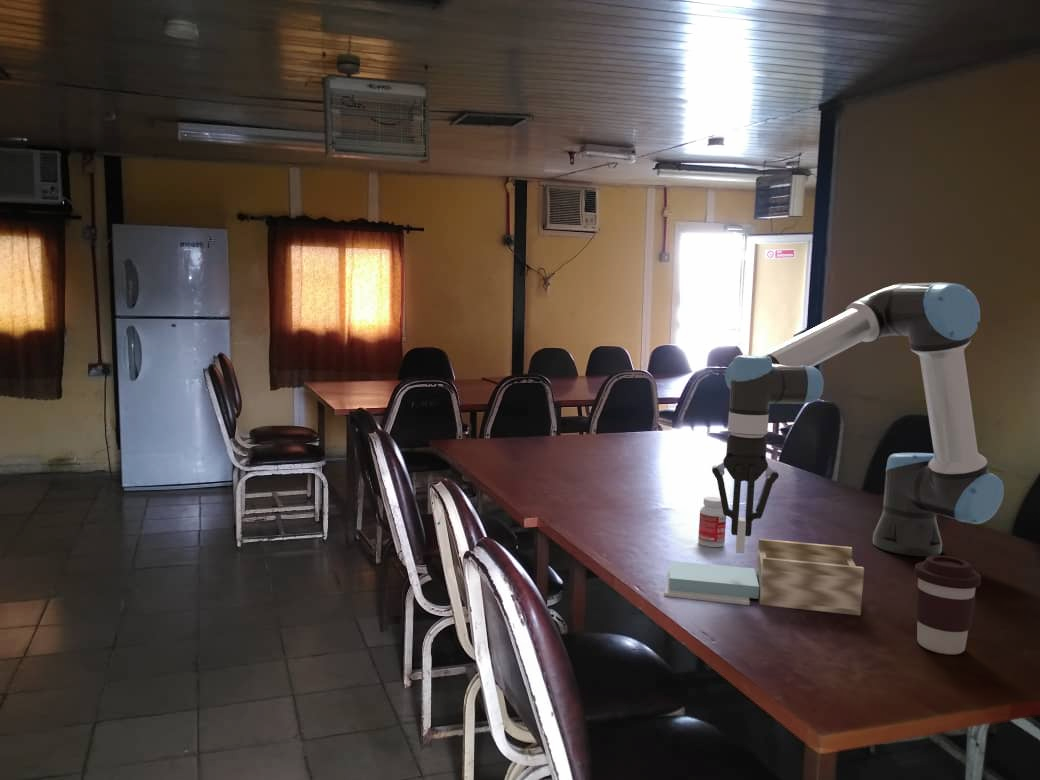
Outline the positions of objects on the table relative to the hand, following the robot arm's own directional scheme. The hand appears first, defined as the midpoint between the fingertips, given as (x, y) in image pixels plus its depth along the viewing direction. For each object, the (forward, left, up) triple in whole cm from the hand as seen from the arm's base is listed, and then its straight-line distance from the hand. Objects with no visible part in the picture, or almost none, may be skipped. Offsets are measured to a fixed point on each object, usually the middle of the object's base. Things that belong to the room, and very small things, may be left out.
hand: (739, 551), depth 164 cm
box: (-13, 0, -8) cm, 15 cm away
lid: (+5, 0, -7) cm, 9 cm away
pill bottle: (+5, -31, -8) cm, 32 cm away
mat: (+6, 0, -8) cm, 10 cm away
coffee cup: (-33, +18, -8) cm, 38 cm away
